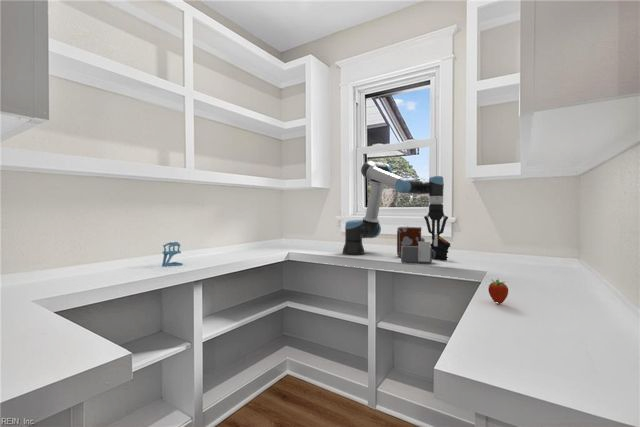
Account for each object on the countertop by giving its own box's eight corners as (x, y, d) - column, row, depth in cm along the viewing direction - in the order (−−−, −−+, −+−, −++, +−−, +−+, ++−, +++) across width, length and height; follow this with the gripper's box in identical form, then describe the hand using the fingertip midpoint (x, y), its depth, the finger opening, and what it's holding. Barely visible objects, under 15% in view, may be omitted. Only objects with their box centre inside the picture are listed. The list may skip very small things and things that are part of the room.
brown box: (429, 258, 198) (430, 226, 198) (399, 257, 199) (399, 226, 199) (425, 256, 208) (425, 226, 208) (396, 255, 208) (396, 226, 208)
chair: (159, 265, 159) (159, 242, 159) (175, 263, 166) (175, 241, 166) (167, 267, 154) (167, 243, 154) (183, 265, 161) (183, 242, 161)
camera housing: (402, 263, 176) (402, 245, 176) (400, 260, 187) (401, 244, 187) (436, 264, 173) (436, 246, 173) (433, 261, 183) (433, 245, 183)
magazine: (429, 255, 201) (437, 234, 196) (444, 266, 191) (453, 245, 185) (425, 255, 199) (433, 234, 194) (440, 267, 189) (449, 245, 183)
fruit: (487, 304, 96) (488, 278, 96) (488, 300, 100) (488, 275, 100) (508, 307, 93) (508, 280, 93) (508, 303, 97) (508, 277, 97)
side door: (418, 261, 174) (418, 241, 174) (418, 261, 176) (418, 241, 176) (430, 262, 173) (430, 241, 173) (429, 261, 175) (430, 241, 175)
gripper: (425, 203, 171) (424, 246, 171) (450, 203, 169) (449, 247, 169) (422, 204, 179) (422, 245, 179) (446, 204, 176) (446, 245, 176)
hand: (435, 245), depth 174 cm, fingers closed
